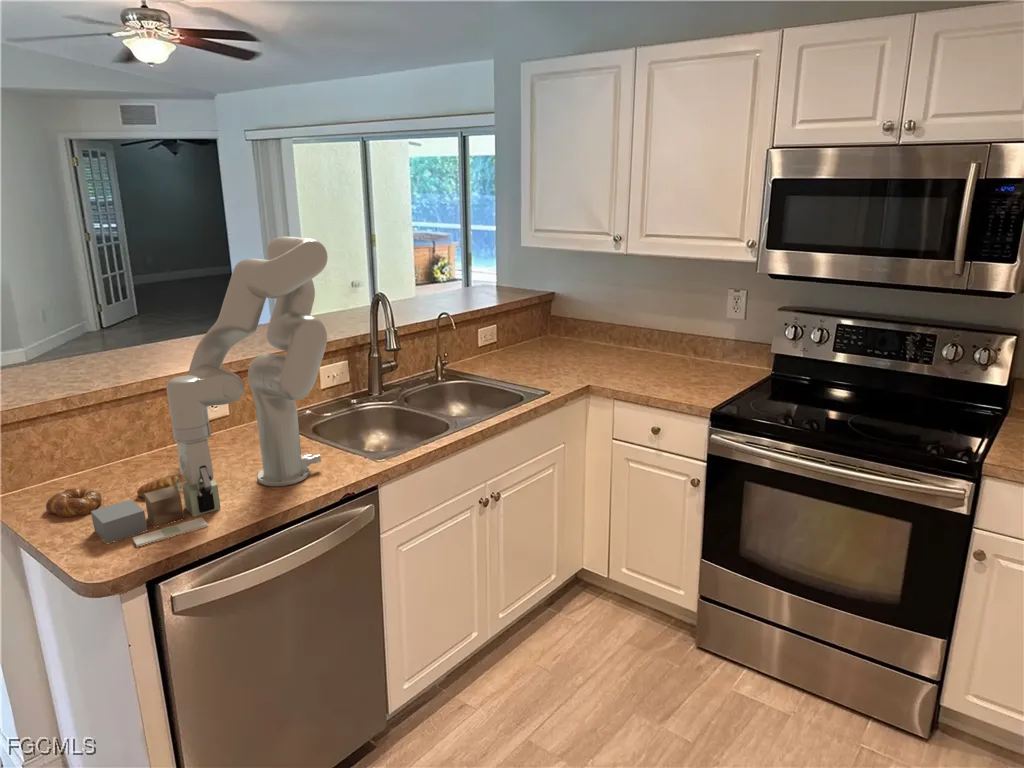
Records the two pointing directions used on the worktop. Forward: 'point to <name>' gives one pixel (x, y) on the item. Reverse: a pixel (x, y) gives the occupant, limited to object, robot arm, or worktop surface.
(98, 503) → the pretzel
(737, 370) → the worktop surface
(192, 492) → the sage block
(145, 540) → the card
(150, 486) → the pastry
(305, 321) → the robot arm
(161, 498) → the walnut block
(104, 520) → the base block
